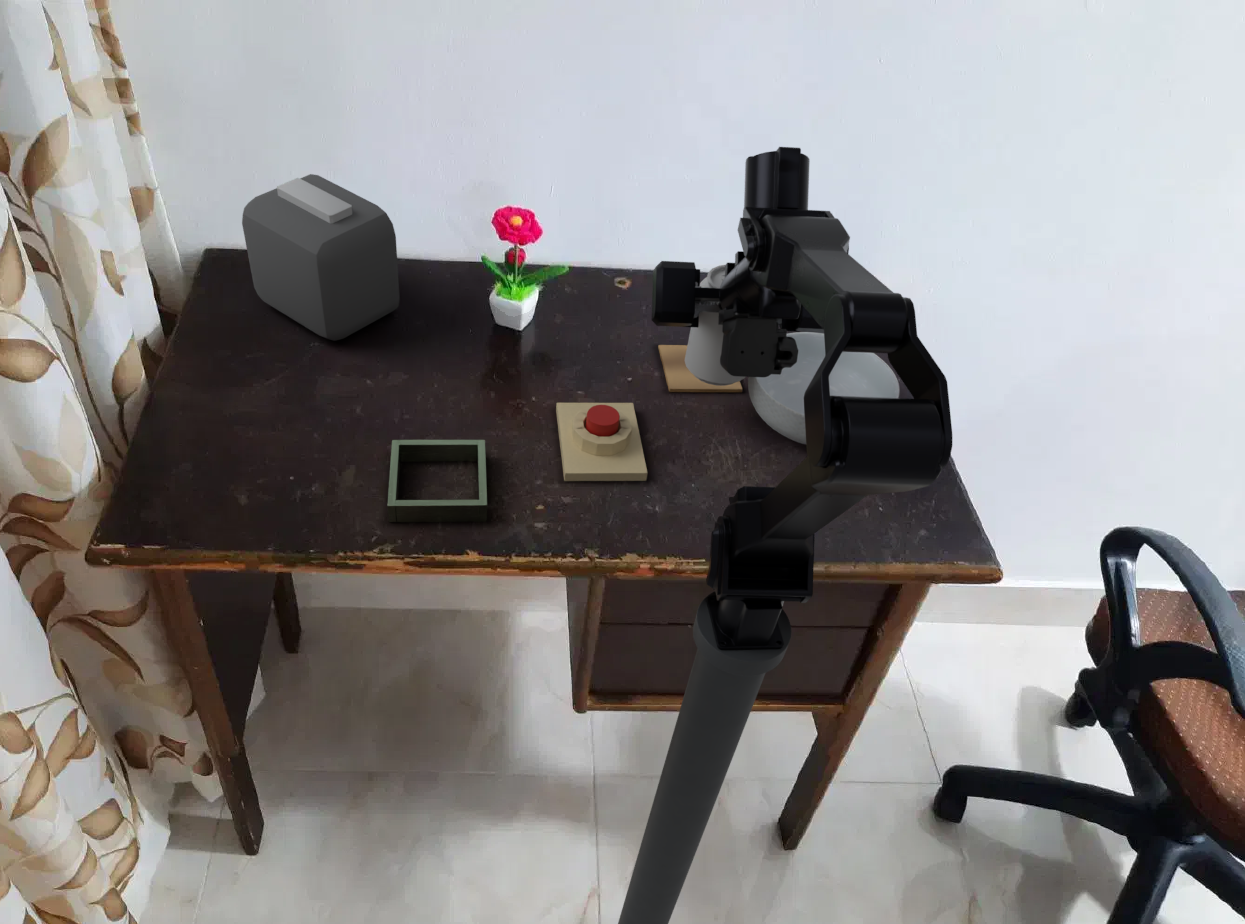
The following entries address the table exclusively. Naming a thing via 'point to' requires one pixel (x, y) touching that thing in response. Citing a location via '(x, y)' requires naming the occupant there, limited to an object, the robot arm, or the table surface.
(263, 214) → the alarm clock
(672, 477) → the table surface
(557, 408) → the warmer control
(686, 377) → the cork coaster
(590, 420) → the stop button
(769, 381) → the cereal bowl
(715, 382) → the can
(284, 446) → the table surface
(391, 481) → the grey-green square frame
